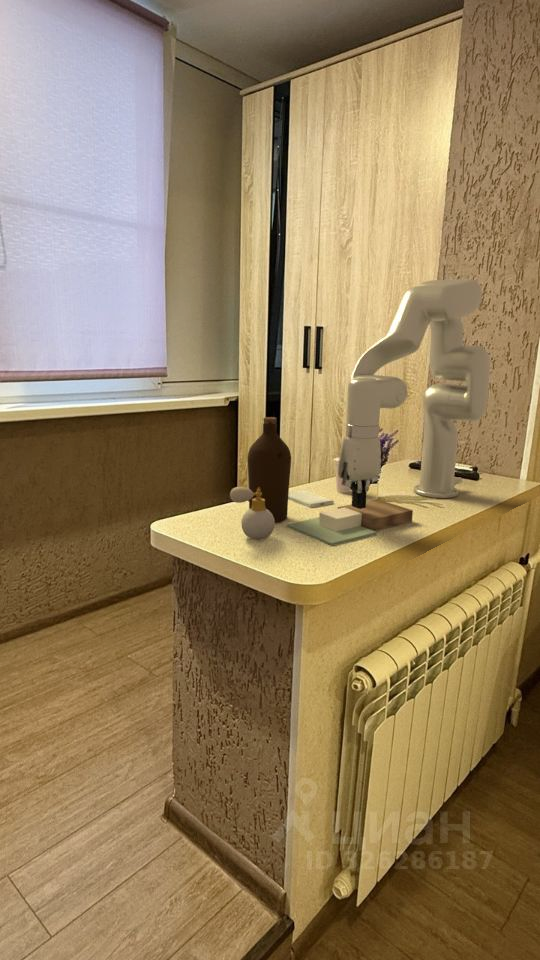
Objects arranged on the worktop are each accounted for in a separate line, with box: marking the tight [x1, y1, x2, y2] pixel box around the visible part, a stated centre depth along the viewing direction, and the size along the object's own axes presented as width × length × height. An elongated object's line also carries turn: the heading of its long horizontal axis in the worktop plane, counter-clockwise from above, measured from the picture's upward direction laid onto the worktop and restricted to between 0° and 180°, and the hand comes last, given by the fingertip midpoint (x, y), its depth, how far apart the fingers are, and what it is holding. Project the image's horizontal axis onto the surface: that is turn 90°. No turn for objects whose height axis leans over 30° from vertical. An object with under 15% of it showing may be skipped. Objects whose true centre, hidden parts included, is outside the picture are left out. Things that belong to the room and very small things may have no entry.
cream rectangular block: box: [318, 507, 362, 531], centre depth 142 cm, size 8×6×3 cm
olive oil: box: [246, 416, 292, 524], centre depth 146 cm, size 11×11×25 cm
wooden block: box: [337, 499, 414, 532], centre depth 149 cm, size 14×12×3 cm
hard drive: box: [288, 489, 335, 509], centre depth 166 cm, size 2×8×12 cm
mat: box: [285, 516, 378, 547], centre depth 140 cm, size 14×16×1 cm
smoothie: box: [333, 456, 351, 494], centre depth 174 cm, size 6×6×14 cm
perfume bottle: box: [229, 486, 276, 541], centre depth 132 cm, size 8×10×12 cm
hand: (358, 507), depth 145 cm, fingers closed
